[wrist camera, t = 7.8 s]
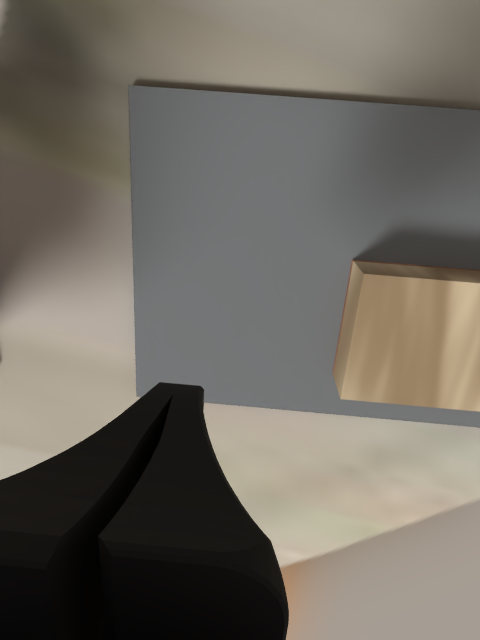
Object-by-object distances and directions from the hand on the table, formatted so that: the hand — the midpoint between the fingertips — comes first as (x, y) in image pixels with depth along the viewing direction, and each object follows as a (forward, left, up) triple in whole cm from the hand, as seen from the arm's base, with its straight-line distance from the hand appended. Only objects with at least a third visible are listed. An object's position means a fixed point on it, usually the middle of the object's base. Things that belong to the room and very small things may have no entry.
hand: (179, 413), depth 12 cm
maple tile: (+6, 0, -8) cm, 10 cm away
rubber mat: (+6, +2, -9) cm, 11 cm away
